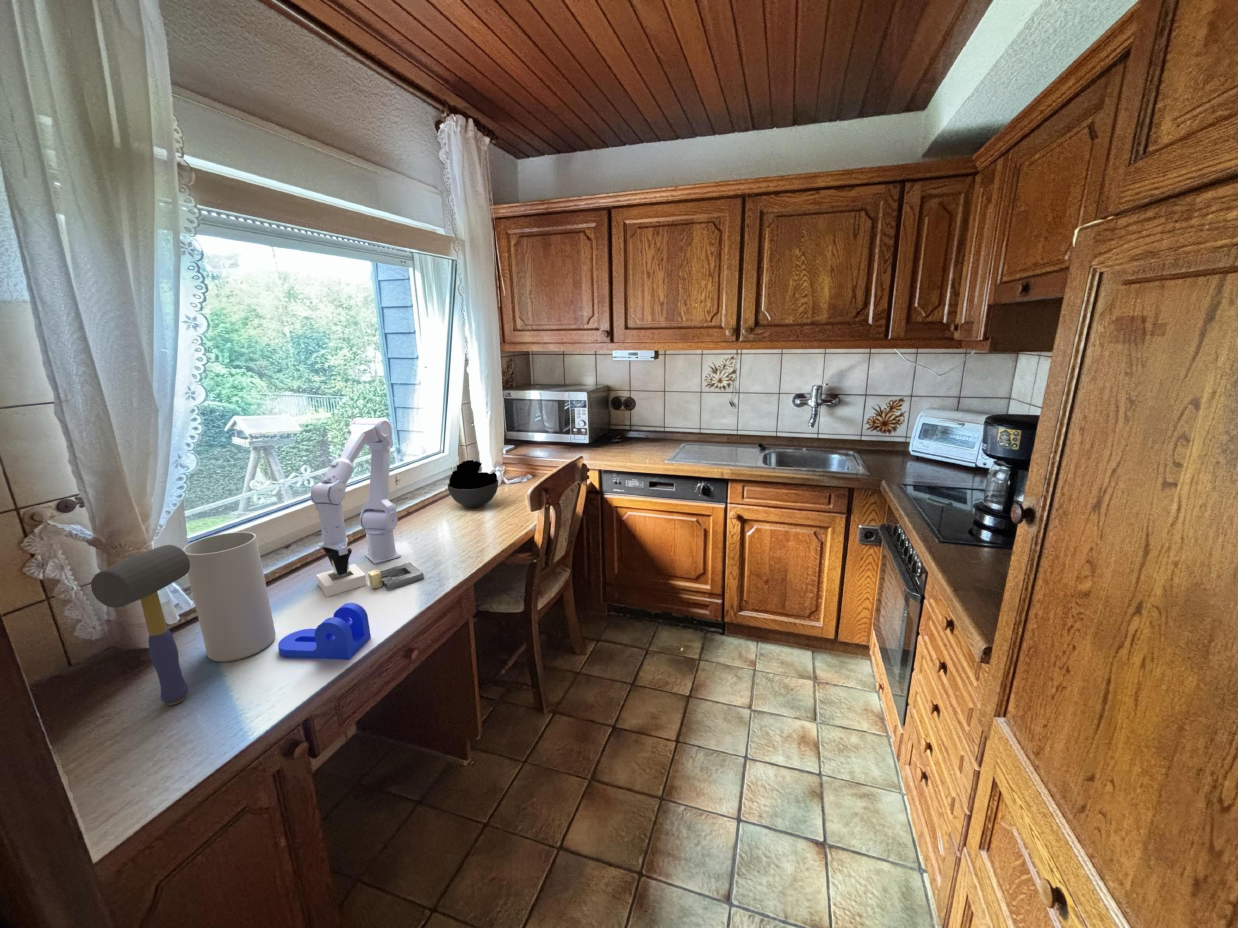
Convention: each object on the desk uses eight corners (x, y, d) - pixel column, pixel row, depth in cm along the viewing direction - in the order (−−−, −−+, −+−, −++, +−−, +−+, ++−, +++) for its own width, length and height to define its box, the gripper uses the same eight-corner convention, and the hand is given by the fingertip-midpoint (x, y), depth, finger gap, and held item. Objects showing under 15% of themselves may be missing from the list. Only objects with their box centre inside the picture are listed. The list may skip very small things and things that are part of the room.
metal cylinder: (333, 578, 143) (330, 555, 141) (349, 574, 145) (346, 552, 144) (335, 583, 140) (332, 560, 138) (351, 579, 142) (348, 556, 140)
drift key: (369, 585, 141) (367, 571, 140) (388, 579, 145) (386, 566, 144) (373, 588, 139) (371, 575, 138) (392, 582, 143) (390, 569, 142)
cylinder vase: (194, 656, 110) (167, 550, 104) (251, 626, 122) (230, 529, 116) (233, 668, 106) (208, 558, 100) (289, 636, 118) (269, 535, 112)
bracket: (371, 638, 117) (365, 602, 114) (349, 660, 109) (343, 622, 106) (297, 635, 118) (290, 600, 116) (270, 657, 110) (262, 620, 108)
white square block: (317, 584, 143) (316, 574, 142) (355, 573, 149) (354, 563, 149) (327, 596, 136) (325, 586, 135) (366, 584, 142) (365, 574, 142)
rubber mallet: (188, 678, 103) (153, 541, 96) (222, 680, 103) (189, 541, 95) (125, 723, 91) (80, 570, 84) (163, 725, 90) (121, 571, 83)
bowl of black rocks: (487, 495, 222) (483, 454, 218) (508, 506, 207) (505, 461, 203) (442, 505, 210) (437, 461, 205) (461, 517, 195) (457, 470, 190)
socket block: (375, 578, 146) (374, 572, 145) (410, 567, 152) (409, 562, 152) (388, 590, 139) (387, 584, 138) (424, 578, 145) (423, 572, 145)
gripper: (309, 522, 141) (317, 567, 144) (323, 536, 131) (331, 584, 134) (337, 516, 146) (344, 560, 149) (353, 529, 135) (360, 575, 138)
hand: (340, 571), depth 142 cm, fingers closed on metal cylinder, 4 cm apart
